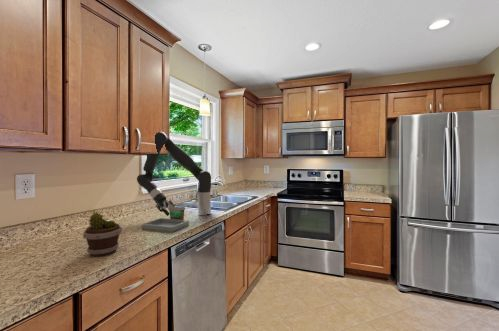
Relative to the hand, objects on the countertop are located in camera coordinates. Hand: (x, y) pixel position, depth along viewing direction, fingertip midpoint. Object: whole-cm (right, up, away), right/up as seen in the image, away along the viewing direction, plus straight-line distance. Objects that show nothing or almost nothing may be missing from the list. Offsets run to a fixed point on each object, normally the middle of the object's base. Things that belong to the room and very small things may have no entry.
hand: (172, 213), depth 164 cm
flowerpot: (-13, -6, -56) cm, 58 cm away
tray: (+1, -5, -15) cm, 16 cm away
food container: (+2, -5, -1) cm, 6 cm away
